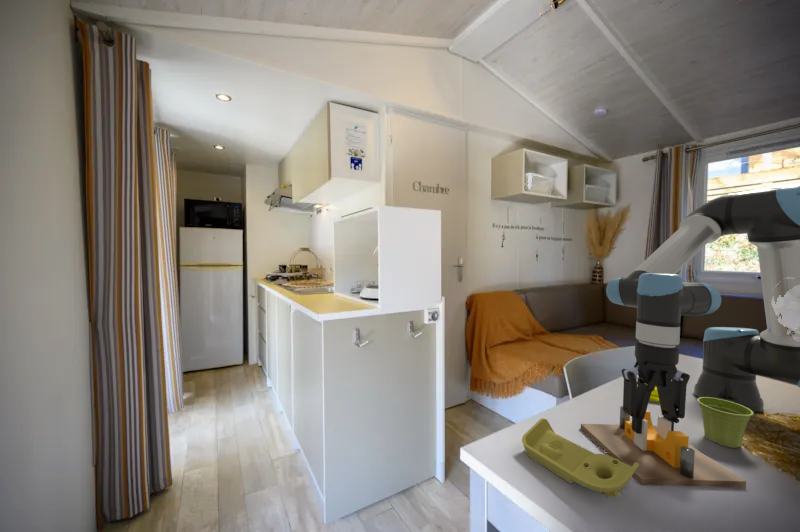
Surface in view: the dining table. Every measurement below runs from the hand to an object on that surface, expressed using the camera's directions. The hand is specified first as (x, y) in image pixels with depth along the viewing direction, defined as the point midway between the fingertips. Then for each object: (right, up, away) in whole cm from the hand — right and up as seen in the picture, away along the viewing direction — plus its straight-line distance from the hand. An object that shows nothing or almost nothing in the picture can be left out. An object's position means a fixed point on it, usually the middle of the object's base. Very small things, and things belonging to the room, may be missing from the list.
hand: (651, 447), depth 70 cm
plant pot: (+22, -2, +6) cm, 23 cm away
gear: (+24, -2, +30) cm, 38 cm away
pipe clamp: (0, 0, -1) cm, 1 cm away
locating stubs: (0, 0, 0) cm, 0 cm away
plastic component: (-21, -1, -7) cm, 22 cm away
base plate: (0, -1, 0) cm, 1 cm away
